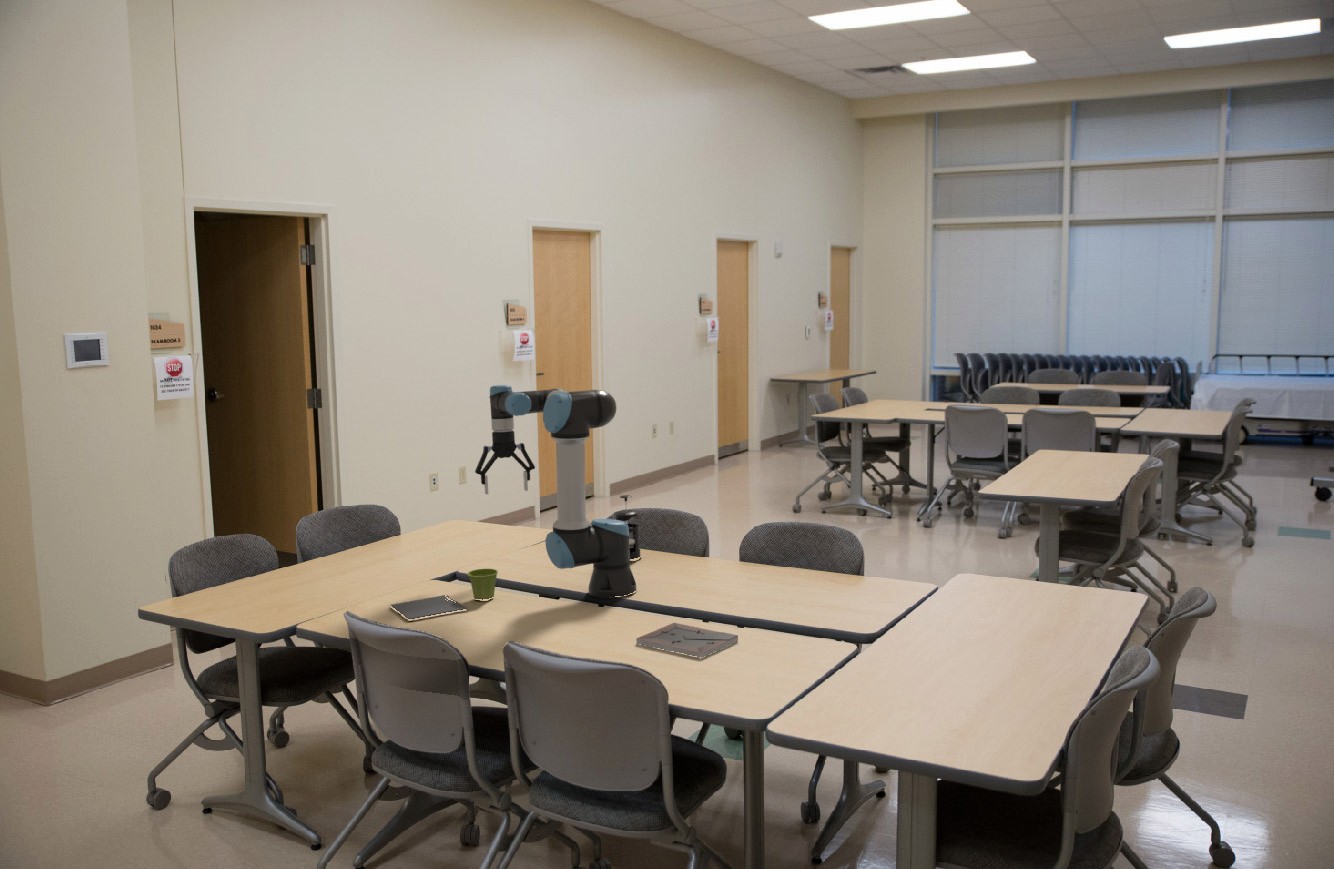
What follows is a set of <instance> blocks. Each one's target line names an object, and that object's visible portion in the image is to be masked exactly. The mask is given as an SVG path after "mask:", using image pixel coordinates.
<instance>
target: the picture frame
mask: <svg viewBox="0 0 1334 869" xmlns="http://www.w3.org/2000/svg"><path fill="white" fill-rule="evenodd" d="M635 640H636V641H635V642H636V645H638V644H641V645H640V646H642V645H646V646H650V647H649V648H651V647H655V648H660V649H664V650H669V651H674V652H679V653H684V654H687V655H692V656H697V657H701V658H702V657H704V656H707V655H709V654H711V653H713V652H715V651H718V650H720V649H722V648H724V649H725V647H726V648H728V647H730V646H732V645H734V644H736V643H738V642H739V635H738V634H734V633H729V632H724V631H722V632H721V631H717V630H710V629H706V628H701V627H695V626H692V625H687V624H683V623H678V622H672V623H670V624H667V625H665V626H663V627H661V628H657V629H656V630H653V631H651V632H648V633H646V634H644V635H642V636H639V637H637V638H636V639H635ZM737 641H738V642H737ZM735 642H736V643H735ZM733 643H734V644H733ZM731 644H732V645H731ZM729 645H730V646H729ZM646 646H645V647H646ZM727 646H728V647H727ZM655 648H654V649H655ZM660 649H659V650H660ZM664 650H663V651H664ZM722 650H723V649H722ZM720 651H721V650H720ZM718 652H719V651H718ZM715 653H716V652H715ZM713 654H714V653H713ZM711 655H712V654H711ZM709 656H710V655H709ZM707 657H708V656H707Z"/></svg>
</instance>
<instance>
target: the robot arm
mask: <svg viewBox="0 0 1334 869" xmlns="http://www.w3.org/2000/svg"><path fill="white" fill-rule="evenodd" d="M488 397H489V403H490V404H489V405H490V416H491V420H490V421H491V430H492V432H491V438H492V440H491V442H492V445H490V446H489V445H483V447H482V448H483V449H482V453H481V456H480V459H479V461H478V463H477V466H476V468H475V470H474V472H475V474H476V475H480V483H481V485H483V487H484V494H485V495H489V481H488V478H489V477H488V474H486V473H487V472H488V471H489V470H490V469H491V467H492V465H494V463H495V462H496V461H497V459H498V458H499V459H504V458H507V459H508V458H513V459H514V460H515V461H516V462H517V463H518V464H519V465H520V466H521V467H522V468H523V469H524V470H523V472H522V474H523V490H524V491H526V492H528V491H529V488H528V487H529V486H528V485H529V484H528V481H531V471H532V470H535V469H536V465H535V464H534V462H533V461H532V459H531V457H530V455H529V454H528V452H527V450H526V446H525V443H523V442H520V443H518V444H517V443H516V440H515V439H516V438H515V430H514V429H515V420H514V416H516V417H518V416H520V417H521V416H525V415H529V414H539V413H542V422H543V424H544V429H545V430H546V431H547V432H548V433H550V437H551V439H552V440H553V441H554V442H555V443H556V444H555V446H556V447H555V449H556V454H555V455H556V457H555V458H556V494H557V495H556V499H557V500H556V501H557V502H556V503H557V504H556V505H557V510H556V511H557V518H556V520H555V521H554V522H553V523H552V531H550V532H548V533H547V534H546V537H545V540H544V542H545V549H546V553H547V556H548V558H549V560H550V562H551V563H552V564H553V565H554V567H556V568H557V569H560V570H564V569H573V568H577V567H582V566H588V565H592V564H593V565H592V566H593V567H592V568H593V569H592V571H591V572H592V573H591V576H590V580H589V583H588V594H589V595H590V596H591V597H595V598H599V599H610V598H609V597H615V596H624V595H628V594H630V593H633V592H634V591H636V590H637V583H636V580H635V576H634V574H633V571H632V569H631V562H630V550H629V547H630V546H629V539H630V536H631V535H630V532H629V529H630V528H629V527H628V525H627V524H628V523H627V524H626V521H620V520H615V519H611V518H610V519H609V518H595V519H591V522H590V520H588V519H587V516H586V513H587V511H586V507H587V506H586V504H587V503H586V449H585V448H586V446H585V445H586V444H585V442H586V441H587V440H588V439H589V438H590V437H591V436H590V434H591V433H590V429H596V428H597V429H598V428H602V427H605V426H606V425H609V423H611V422H612V420H613V419H614V418H615V416H616V413H617V402H616V400H615V398H614V397H613V395H612V394H610V392H607V391H605V390H601V389H590V390H576V391H566V390H564V389H562V388H550V389H540V390H539V389H538V390H527V391H517V392H515V391H513V389H512V386H511V385H510V384H496V385H492V386H490V388H489V396H488ZM517 449H518V450H519V451H520V452H521V454H522V455H523V457H524V459H525V461H526V463H527V464H528V465H527V464H526V463H525V462H524V461H523V460H522V459H521V458H520V457H519V456H518V454H516V453H515V451H516V450H517ZM491 451H492V452H493V455H492V456H491V457H490V458H489V460H488V461H487V463H486V464H484V463H485V462H486V459H487V458H488V457H487V456H488V453H490V452H491ZM484 465H485V466H484ZM483 466H484V467H483ZM636 592H637V591H636Z"/></svg>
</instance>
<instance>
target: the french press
mask: <svg viewBox="0 0 1334 869" xmlns="http://www.w3.org/2000/svg"><path fill="white" fill-rule="evenodd" d="M619 498H621V499H624V502H625V510H618V511H615V512H613V515H614V520H620V521H623V522H625V523H626V524H627V525H628V529H629V533H632V538H629V550H630V559H634V558H638V557H640V556H641V548H640V547H639V542H640V540H639V531H640V528H641V527H640V525H639V524H637V523H628V521H629V520H630V519H631V518H632V517H633V518H639V514H640V513H639V511H638V510H630V509H627V508H628V507H627V502H628V499H630V498H632V496H631V495H629V494H628V495H626V494H624V495H621V496H619Z"/></svg>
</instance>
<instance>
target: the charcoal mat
mask: <svg viewBox="0 0 1334 869" xmlns="http://www.w3.org/2000/svg"><path fill="white" fill-rule="evenodd" d="M445 595H447V596H446V597H448V598H449V597H450V596H449V595H448V594H442V595H437V596H431V597H426V598H422V599H421V598H420V599H414V600H410V601H403V602H399V603H394V604H390V605H391V606H392V607H393V608H395V609H396V610H397V611H399V612H400V613H401V614H403V615H404V616H405V617H406V618H408V619H415V618H420V617H425V616H431V615H436V614H441V613H446V612H452V611H457V610H463V609H467V610H468V607H466V606H465V605H463V604H462V603H460V602H459V601H457V600H456V599H454V598H452V597H451V598H452V599H451V598H450V599H451V600H453V599H454V600H453V601H451V600H448V599H447V598H446V597H445ZM445 599H446V600H445ZM447 600H448V601H447ZM455 600H456V601H455ZM454 601H455V602H456V603H455V602H454Z"/></svg>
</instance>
